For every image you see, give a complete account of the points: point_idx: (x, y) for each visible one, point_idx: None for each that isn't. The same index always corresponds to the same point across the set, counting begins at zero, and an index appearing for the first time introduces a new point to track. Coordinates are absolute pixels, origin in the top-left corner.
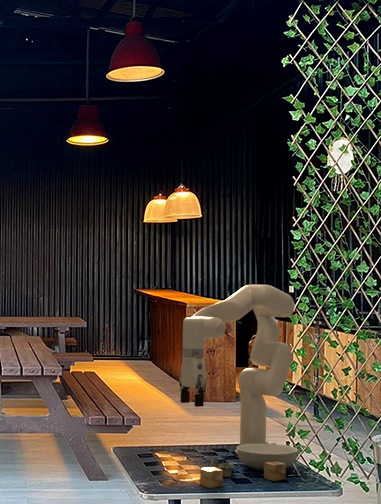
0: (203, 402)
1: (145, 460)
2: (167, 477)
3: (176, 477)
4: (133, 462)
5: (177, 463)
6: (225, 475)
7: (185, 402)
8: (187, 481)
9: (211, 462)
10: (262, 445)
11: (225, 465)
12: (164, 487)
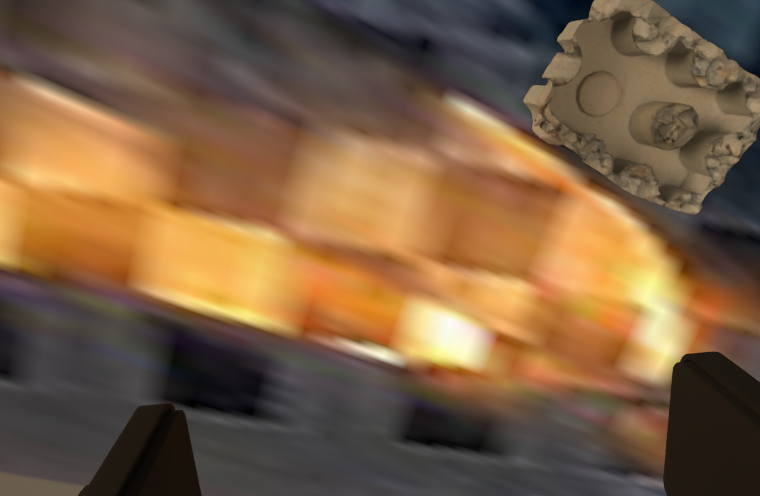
0: (756, 383)
1: (118, 379)
2: (574, 416)
3: (593, 376)
4: None
5: (250, 234)
6: (722, 127)
7: (195, 474)
8: None
9: (585, 153)
10: None
11: (573, 32)
12: None
